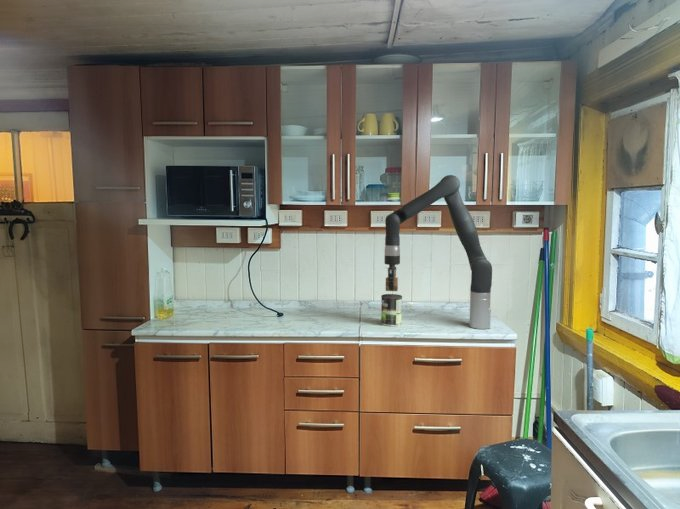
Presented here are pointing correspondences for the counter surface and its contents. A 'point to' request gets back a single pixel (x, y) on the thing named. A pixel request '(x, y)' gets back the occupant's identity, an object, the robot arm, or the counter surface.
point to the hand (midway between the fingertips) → (391, 288)
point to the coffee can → (391, 310)
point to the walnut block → (394, 284)
